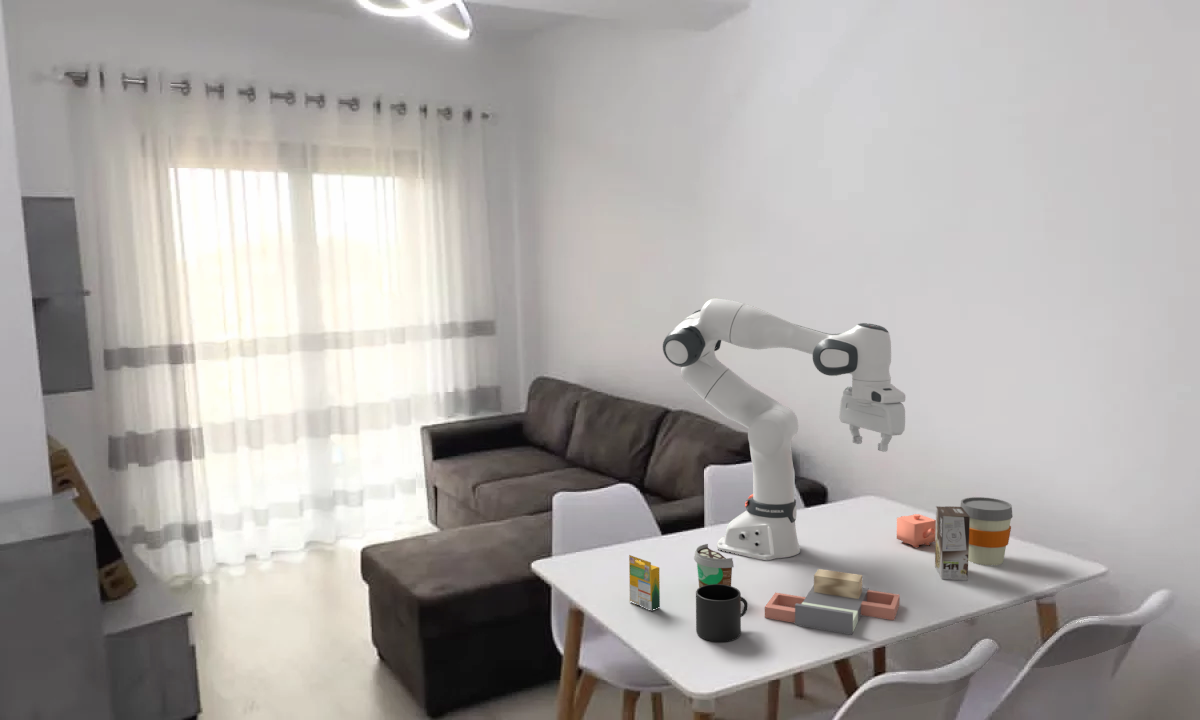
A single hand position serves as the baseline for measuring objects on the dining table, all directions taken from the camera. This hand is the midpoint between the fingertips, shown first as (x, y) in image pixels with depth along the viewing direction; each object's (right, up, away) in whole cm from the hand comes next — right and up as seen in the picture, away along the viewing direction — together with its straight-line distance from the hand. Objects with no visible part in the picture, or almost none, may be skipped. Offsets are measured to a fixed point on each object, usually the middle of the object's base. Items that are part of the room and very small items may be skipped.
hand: (869, 447), depth 205 cm
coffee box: (+22, -32, +6) cm, 40 cm away
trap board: (-14, -35, -16) cm, 41 cm away
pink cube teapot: (+22, -30, +28) cm, 47 cm away
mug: (-39, -37, -25) cm, 59 cm away
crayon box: (-55, -36, -10) cm, 67 cm away
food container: (-40, -35, -3) cm, 53 cm away
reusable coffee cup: (+35, -31, +15) cm, 49 cm away
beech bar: (-11, -32, -11) cm, 36 cm away
